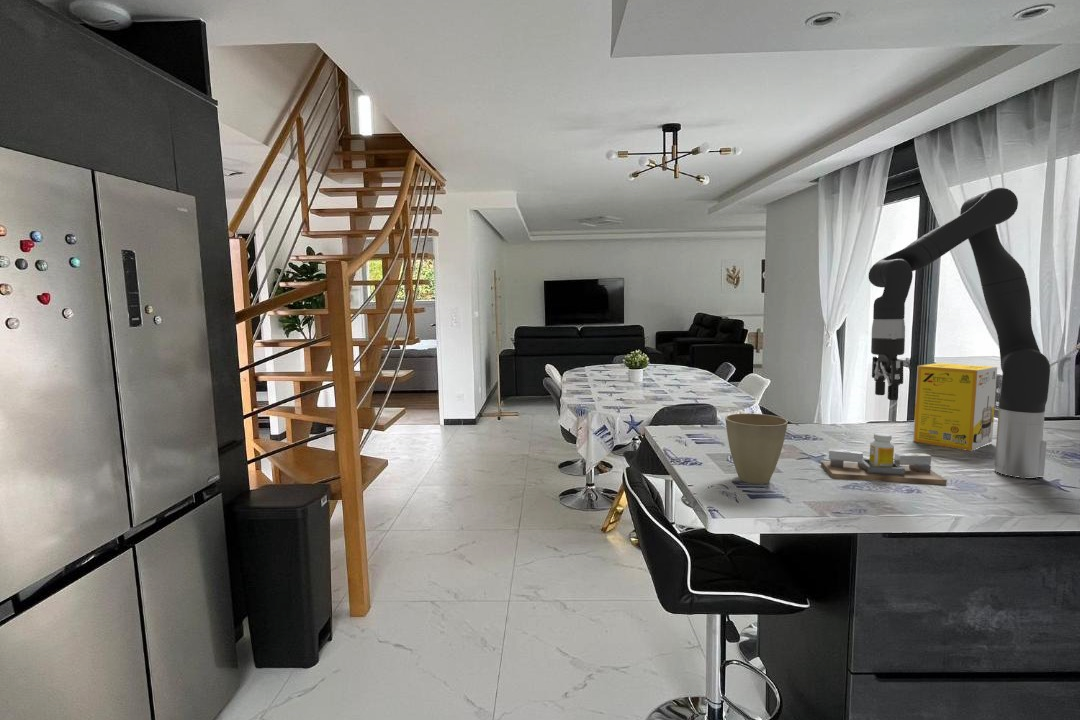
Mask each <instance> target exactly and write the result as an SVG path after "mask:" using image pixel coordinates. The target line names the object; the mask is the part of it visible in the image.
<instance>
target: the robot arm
mask: <svg viewBox="0 0 1080 720" xmlns="http://www.w3.org/2000/svg"><path fill="white" fill-rule="evenodd" d="M1018 205H1019V200H1018V197H1017V195H1016V194H1015V192H1014V191H1012V190H1011V189H1009V188H1006V187H994V188H991V189H987V190H985V191H982V192H980V193H978V194H976V195H973V196H972V197H969V198H968V199H966V200H965V201H963V204H962V205H961V208H960V213H959V216H957V217H955V218H953V219H951V220H950V221H948V222H946V223H944V224H942V225H940V226H938V227H936V228H934V229H932V230H930V231H929V232H927V233H925V234H923V235H922V236H921V237H919V238H917V239H916V240H914V241H913V242H911V243H910V244H908V245H907V246H905V247H904V248H902V249H900V250H898V251H895V252H893V253H891V254H890V255H889V254H888V256H885V257H883V258H882V259H880V260H879V261H877V262H875V263H874V264H873V265H872V266H871V268H870V269H869V271H868V281H869V282H870V284H872V285H873V286H875V287H877V288H883V292H882V295H881V296H879V297H877V298H875V299H874V302H873V310H872V311H873V313H872V314H873V315H872V316H873V317H872V319H873V320H872V324H871V325H872V326H871V343H870V344H871V345H870V346H871V347H870V352H871V354H872V355H874V356H872V362H871V363H872V364H871V365H872V366H871V378H872V379H873V381H875V385H874V387H875V388H874V389H875V390H874V394H875V395H876V396H885V394H886V381H887V400H890V401H898V400H899V386H900V385H903V384H904V361H903V360H899V359H898V356H902V355H904V354H905V343H906V339H905V338H906V325H905V324H906V323H905V314H906V313H905V312H906V311H905V309H906V308H905V307H906V306H905V305H906V300H907V297H908V295H909V292H910V288H911V286H912V283H913V272H915V271H918V270H922V269H924V268H926V267H927V266H929V265H930V264H931V263H934V262H935V261H937V260H938V259H940V258H941V257H942V256H944V255H946V254H947V253H948V252H950V251H951V250H953V249H954V248H956V247H957V246H959V245H961V244H962V243H964V242H966V241H968V242H969V245H970V247H971V251H972V254H973V258H974V260H975V264H976V268H977V271H978V276H979V279H980V285H981V289H982V293H983V297H984V298H983V299H984V301H985V304H986V308H987V310H988V314H989V316H990V318H991V321H992V324H993V327H994V329H995V332H996V335H997V342H998V348H999V357H1000V358H999V360H1000V368H1001V371H1002V376H1001V377H1002V378H1001V386H1000V387H1001V389H1000V390H1001V391H1000V396H999V399H998V414H997V416H998V417H997V429H996V430H997V431H996V440H995V441H996V443H995V445H996V446H995V457H994V470H995V471H996V472H995V471H994V472H995V473H997V472H999V473H1002V474H1007V475H1012V476H1019V477H1037V476H1044V477H1045V468H1046V456H1047V455H1046V454H1047V442H1046V441H1045V440H1044V429H1045V428H1044V426H1045V413H1046V404H1047V401H1048V397H1049V389H1050V388H1049V387H1050V378H1051V365H1050V361H1049V359H1048V358H1047V356H1046V355H1044V354H1043V353H1042V352H1041V351H1040V348H1039V346H1038V343H1037V340H1036V337H1035V334H1034V331H1033V327H1032V301H1031V294H1030V293H1031V292H1030V288H1029V284H1028V280H1027V276H1026V273H1025V270H1024V269H1023V267H1022V266H1021V265H1020V263H1019V262H1018V261H1017V260H1016V259H1015V258H1014V256H1012V255H1011V254H1010V253H1009V252H1008V251H1007V250H1006V249H1005V247H1004V246H1003V244H1002V243H1001V240H1000V237H999V233H998V229H997V225H999V224H1002V223H1005V222H1006V221H1008V220H1009V219H1011V218H1012V217H1013V216H1014V215H1015V213H1016V212H1017V209H1018V208H1019V207H1018ZM875 355H876V356H875ZM999 473H998V474H999ZM1002 474H1001V475H1002Z"/></svg>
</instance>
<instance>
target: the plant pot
mask: <svg viewBox="0 0 1080 720" xmlns="http://www.w3.org/2000/svg"><path fill="white" fill-rule="evenodd" d="M724 420H725V427H726V434H727V435H726V436H727V441H728V447H729V450H730V454H731V458H732V462H733V465H734V468H735V471H736V474H737V476H738V477H737V478H738V479H739V480H740V481H742V482H744V483H748V484H753V485H762V484H763V485H764V484H767V483H769V482H770V480H771V479H772V477H773V474H774V472H775V469H776V468H777V464H778V462H779V459H780V456H781V452H782V449H783V446H784V442H785V438H786V432H787V427H788V423H789V421H788V420H787V419H786V418H784V417H781V416H777V415H773V414H772V415H771V414H764V413H749V412H748V413H747V412H746V413H731V414H729V415H726V416H724Z"/></svg>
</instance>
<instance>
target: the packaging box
mask: <svg viewBox="0 0 1080 720" xmlns="http://www.w3.org/2000/svg"><path fill="white" fill-rule="evenodd" d="M916 369H917V370H916V386H915V400H914V401H915V403H914V404H915V405H914V421H913V439H912V441H913V442H916V443H922V444H926V445H933V446H937V447H943V446H945V447H944V448H949V447H952V448H951V449H955V448H959V449H958V450H961V449H966V450H974V449H976V448H978V447H981V446H983V445H985V444H987V443H990V442H992V443H993V434H994V432H993V431H994V420H995V418H994V417H995V407H996V406H995V403H996V392H997V391H996V390H997V376H998V366H986V365H985V366H983V365H974V364H973V365H972V364H970V365H969V364H958V363H957V364H956V363H943V362H936V363H927V364H922V365H921V364H920V365H917V368H916ZM966 450H965V451H966ZM974 451H975V450H974Z"/></svg>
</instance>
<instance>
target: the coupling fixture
mask: <svg viewBox="0 0 1080 720" xmlns="http://www.w3.org/2000/svg"><path fill="white" fill-rule="evenodd" d="M869 459H870V458H864V454H863V451H858V450H857V451H856V450H845V449H834V448H828V460H829V462H830V466H831V467H836V468H843V463H845V462H848V463H858V466H859V467H861V468H862V469H863V470H864V471H865V472H866V473H868V474H881V475H899V476H905V469H904V468H903V467H902V466H909V468H910V469H912V470H914V471H917V472H930V471H931V469H932V466H931V464H932V455H930V454H928V453H925V452H923V453H921V452H920V453H917V452H916V453H915V452H914V453H909V452H908V453H905V452H904V453H903V452H902V453H901V452H900V453H897V452H894V456H893V467H879V466H870V465H869Z"/></svg>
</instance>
